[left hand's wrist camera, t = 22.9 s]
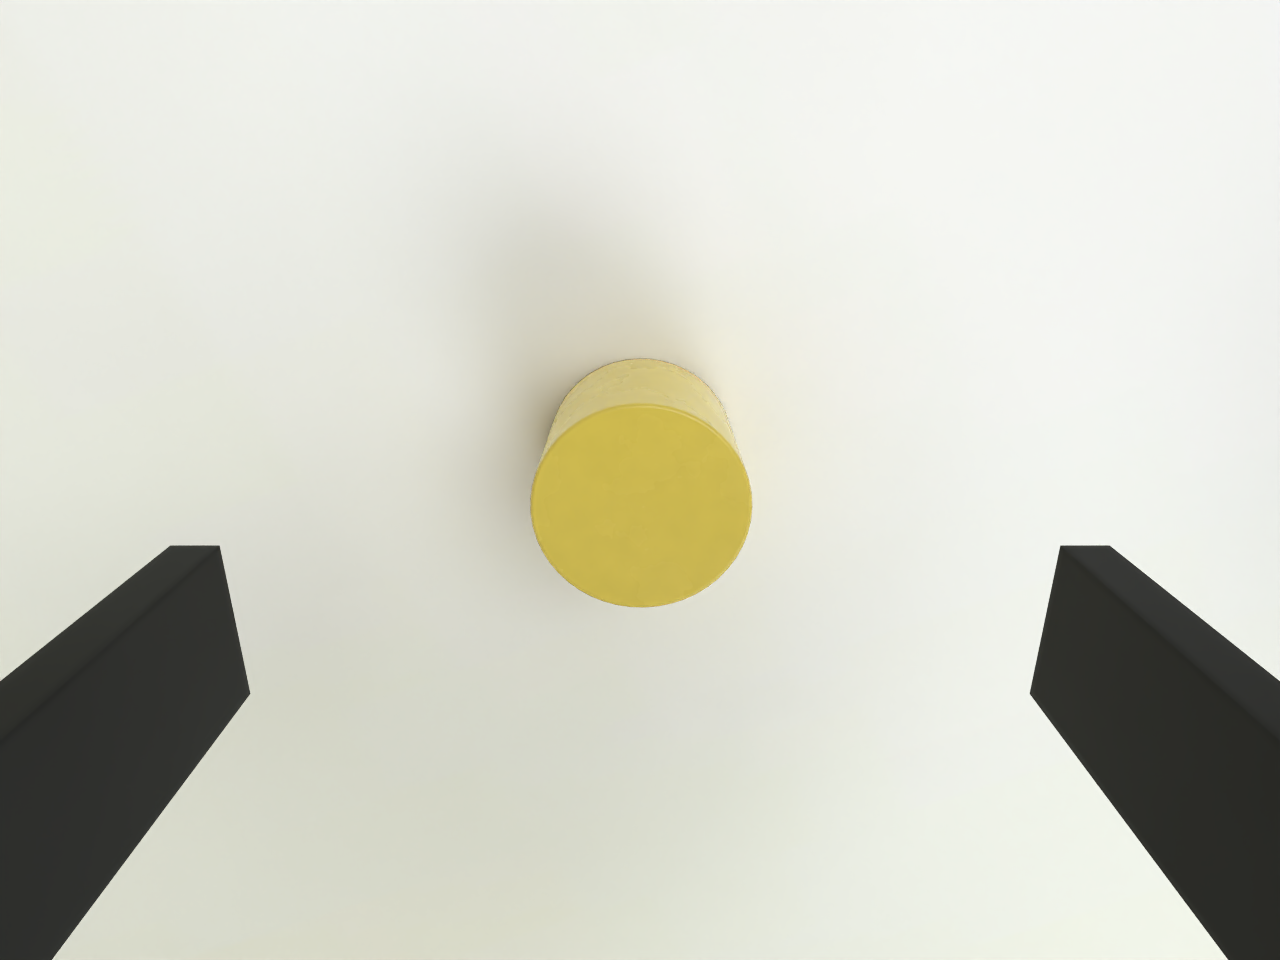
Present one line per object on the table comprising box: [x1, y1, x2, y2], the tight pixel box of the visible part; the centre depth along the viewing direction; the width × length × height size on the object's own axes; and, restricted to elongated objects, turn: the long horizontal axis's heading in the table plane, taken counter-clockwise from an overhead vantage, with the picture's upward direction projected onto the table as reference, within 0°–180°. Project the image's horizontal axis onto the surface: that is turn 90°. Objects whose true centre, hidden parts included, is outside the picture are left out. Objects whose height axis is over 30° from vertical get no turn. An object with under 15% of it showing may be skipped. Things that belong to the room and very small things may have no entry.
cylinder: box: [530, 359, 752, 607], centre depth 19 cm, size 5×5×4 cm
